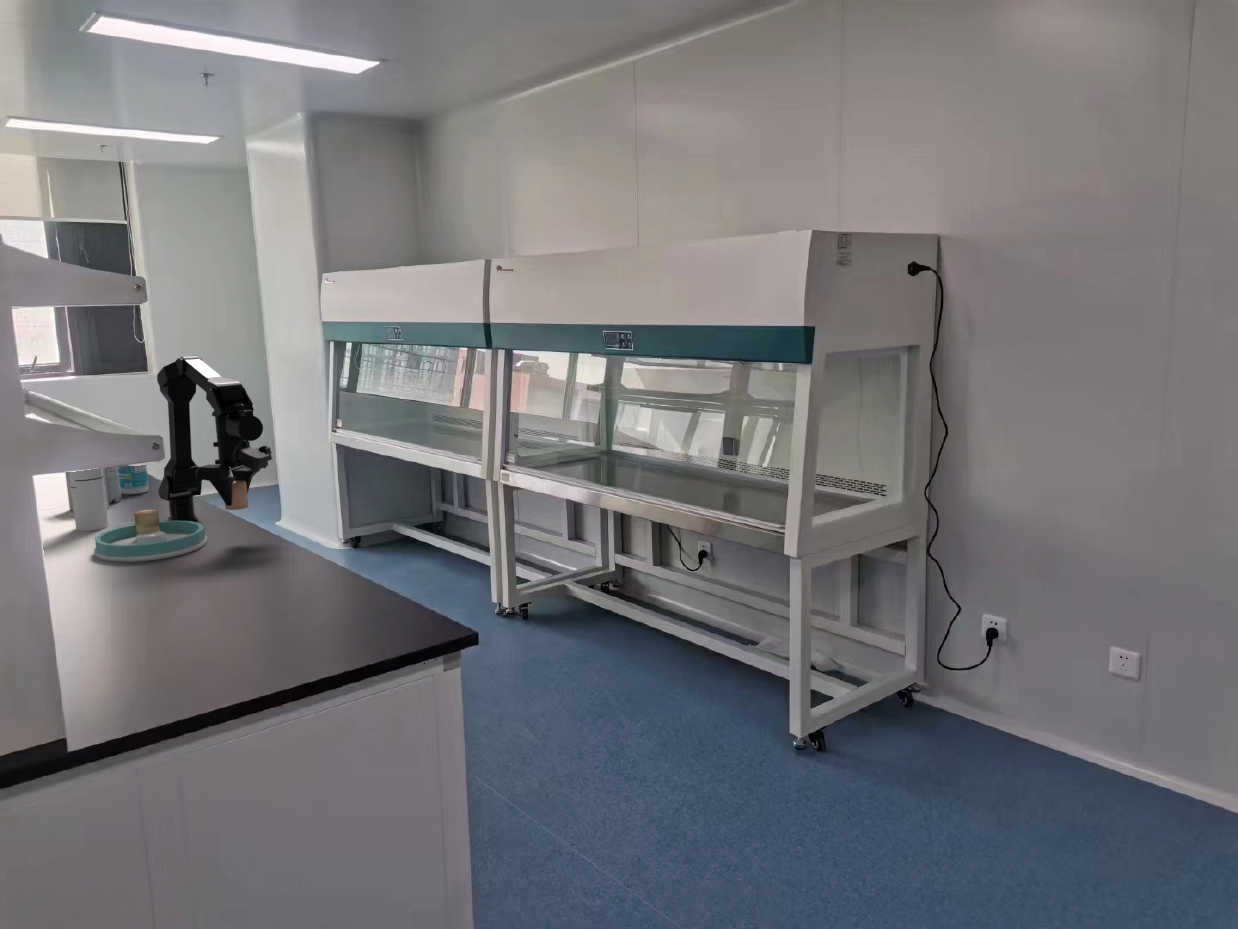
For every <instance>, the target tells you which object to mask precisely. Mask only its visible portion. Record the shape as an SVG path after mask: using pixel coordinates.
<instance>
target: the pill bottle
mask: <svg viewBox="0 0 1238 929" xmlns="http://www.w3.org/2000/svg"><path fill="white" fill-rule="evenodd" d="M117 467H118V476H119V483H120V488H121V495H130V496H132V495H140V494H144V493H147V492H148V491H149V487H150V486H149V478H148V477H149V476H148V471H147V470H148V468H147V464H146V465H141V466H117Z"/></svg>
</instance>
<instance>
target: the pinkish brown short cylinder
mask: <svg viewBox="0 0 1238 929" xmlns="http://www.w3.org/2000/svg"><path fill="white" fill-rule="evenodd" d="M246 508H249V497H248V494H247V486H246V481H245V480H234V481H233V482H232V505H231V506H227V505H226V504H225V503H224V509H225V510H229V511H237V510H238V511H239V510H243V509H246Z"/></svg>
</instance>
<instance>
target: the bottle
mask: <svg viewBox="0 0 1238 929" xmlns="http://www.w3.org/2000/svg"><path fill="white" fill-rule="evenodd" d="M105 475H106V485H107V493H108V502H109V504H112V502H113V501H114V503H117V502H120V501H121V499H122V493H121V488H120V483H119V475H118V466H114V467H107V468H105Z"/></svg>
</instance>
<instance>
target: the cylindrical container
mask: <svg viewBox="0 0 1238 929" xmlns="http://www.w3.org/2000/svg"><path fill="white" fill-rule="evenodd" d="M69 476H70V484H71V492H72V500H73V508H74V511H73V514H74V521H75V522H74V524H75V530H76V531H80V532H90V531H99V530H102V529H105V528H108V527H109V525H110V522H109V515H108V509H107V505H106V496H105V488H104V479H103V471H102V468H98V469H91V470H84V471H76V472H69Z"/></svg>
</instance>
